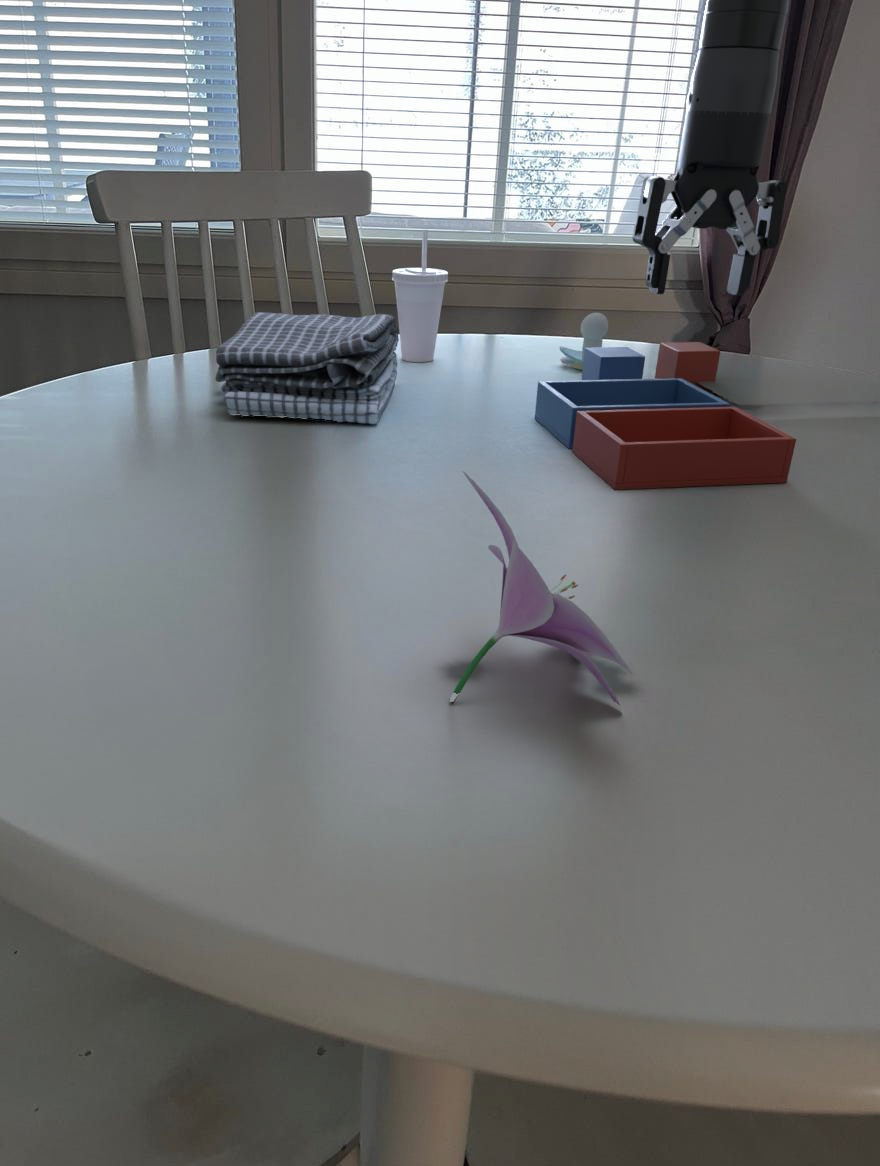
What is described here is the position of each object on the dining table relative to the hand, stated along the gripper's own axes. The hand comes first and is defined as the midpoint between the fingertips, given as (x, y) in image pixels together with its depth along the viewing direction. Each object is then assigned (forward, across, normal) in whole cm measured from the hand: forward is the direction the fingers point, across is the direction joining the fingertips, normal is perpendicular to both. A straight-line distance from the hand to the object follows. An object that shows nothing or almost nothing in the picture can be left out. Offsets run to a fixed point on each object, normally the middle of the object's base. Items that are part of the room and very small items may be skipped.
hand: (695, 293), depth 94 cm
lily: (+10, -34, -56) cm, 66 cm away
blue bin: (+10, -12, -14) cm, 20 cm away
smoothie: (+10, -24, +18) cm, 32 cm away
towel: (+10, -39, 0) cm, 40 cm away
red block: (+10, 0, 0) cm, 10 cm away
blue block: (+10, -9, -2) cm, 13 cm away
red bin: (+10, -12, -24) cm, 29 cm away
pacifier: (+10, -6, +12) cm, 17 cm away
